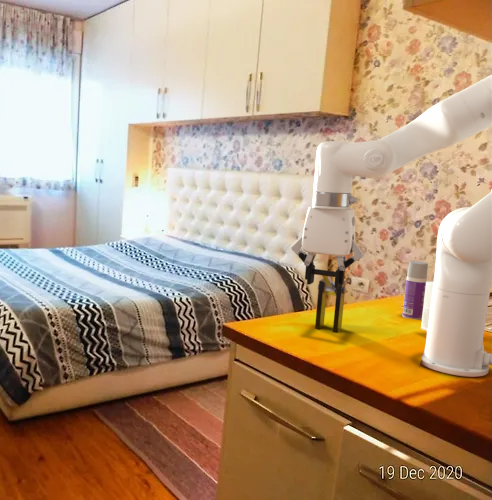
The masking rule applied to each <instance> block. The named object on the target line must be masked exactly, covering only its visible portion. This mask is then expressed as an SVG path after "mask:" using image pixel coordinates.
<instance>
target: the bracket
mask: <svg viewBox="0 0 492 500" xmlns="http://www.w3.org/2000/svg"><path fill="white" fill-rule="evenodd" d="M346 283H347V280H344V283H343V285H341V286H340V287H339V288H338V289H337V292H336V296H335V302H334V303H335V304H334V315H333V324H332V333H335V334H338V333H339V332H340V330H341V329H342V325H343V315H344V305H345V295H346V293H347V287H346ZM325 289H326V283H325V280H324V278H323V277H322V279H320V280H319V281H318V284H317V301H316V315H315V325H314V329H315V330H321V329H322V328H323V327H324V325H325V318H326V317H325V316H326V307H327V306H326V305H327V293H326V291H325Z"/></svg>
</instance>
